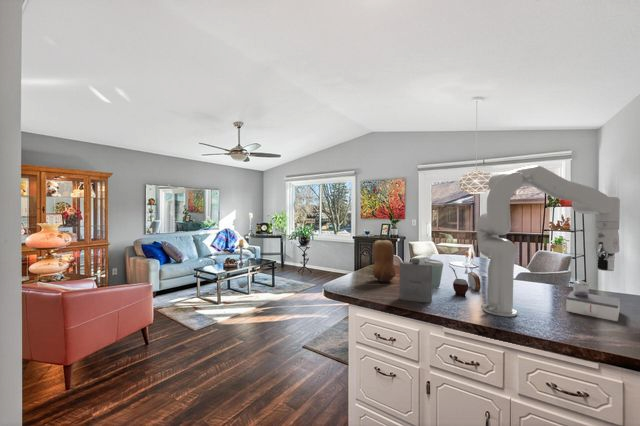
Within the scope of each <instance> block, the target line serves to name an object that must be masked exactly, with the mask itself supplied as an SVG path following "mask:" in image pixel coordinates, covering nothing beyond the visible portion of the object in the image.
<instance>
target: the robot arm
mask: <svg viewBox="0 0 640 426" xmlns="http://www.w3.org/2000/svg"><path fill="white" fill-rule="evenodd" d="M487 186H488V188H489V191H488V195H487V198H486V212H484V213H483V214H481V215H479V217H478V218H477V222H476V239H477V247H478V251H479V253H481V255H483V256H484V257H486V258H490V260H489V263H488V265H487V284H486V285H487V287H486V290H487V291H486V294H487V295H486V300H485V304H481V305H480V308H481V310H483V312H486V313H488V314H490V315H494V316H498V317H505V318H507V317H509V318H512V317H513V318H514V317H516V316H518V311H517V310H516V309H514V274H515V273H514V272H515V270H514V269H515V261H516V259H517V251H518V250H517V247H516V245H515V244H514V243H513V242H512V241H511V240H509V239H508V238H503V237H499V236H505V235H507V234H508V233H510V231H511V229H512V223H511V222H512V221H511V208H510V207H511V206H510V204H511V203H510V202H511V199H512V196H513V195H514V194H515V193H516V191H518V190H519V189H521V188H524V187H533V188H535V189H537V190H539V191H540V192H542V193H543V194H544V193H545V194H546V195H548V196H550V197H551V198H555V199H558V200H561V201H562V200H563V201H570V202H572V203H571V208H572V210H573V211H575V212H576V213H578V214H583V215H594V230H596V232H595V239H594V240H595V241H594V250H595V252H596V256H597V270H599V269H603V270H602V271H604V270H608V260H607V256H608V255H610V256H614V260H615V257H616V256H615V255H616V254H617V253H620V235H619V234H620V233H619V230H620V218H621V217H620V215H621V212H620V211H621V199H620V198H619V197H618V196H609V195H607V194H605V193H604V192H602V191H600V190H598V189H596V188H593V187H591V186H588V185H584V184H581V183H578V182H575V181H572V180H571V181H570V180H567V179H566V178H564V177H562V176H560V175H558V174H556V173H555V172H553V171H551V170H549V169H547V168H546V167H544V166H541V165H537V164H536V165H531V166H530V165H529V166H525V167H521V168H518V169H517V168H516V169H513V170H509V171H505V172H501V173H496V174H493V175H492V176H491V177H490V178H489V179H488V183H487ZM604 255H605V256H604Z"/></svg>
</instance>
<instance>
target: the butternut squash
mask: <svg viewBox="0 0 640 426" xmlns="http://www.w3.org/2000/svg"><path fill="white" fill-rule="evenodd" d="M394 256H395V249H394V244H393V243H392V241H391V240H388V239H385V240H380V239H378V240H375V241H374V243H373V258H374V264H373V266H372V275H373V276H374V278H375V279H376V280H377V281H379V282H382V283H389V282H391V281H392V280H393V279H394V278H395V277H396V275H397V269H396V266H395V263H394V258H395V257H394Z"/></svg>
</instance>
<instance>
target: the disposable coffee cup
mask: <svg viewBox="0 0 640 426" xmlns="http://www.w3.org/2000/svg"><path fill="white" fill-rule="evenodd" d="M423 263H426V264H431V265H432V289H439V288H440V285H441V280H442V276H443V275H442V273H443V268H444V263H443V261H442V260H437V259H432V258H426V259H424V261H423Z"/></svg>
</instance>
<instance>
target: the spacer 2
mask: <svg viewBox="0 0 640 426" xmlns="http://www.w3.org/2000/svg"><path fill="white" fill-rule="evenodd" d="M604 256H605V254H604ZM614 256H615V255H614ZM614 256H610V255H608V256H607V260H608V270H603V269H598V270H599V271H604V272H605V271H606V272H614V271H615V259H614Z"/></svg>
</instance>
